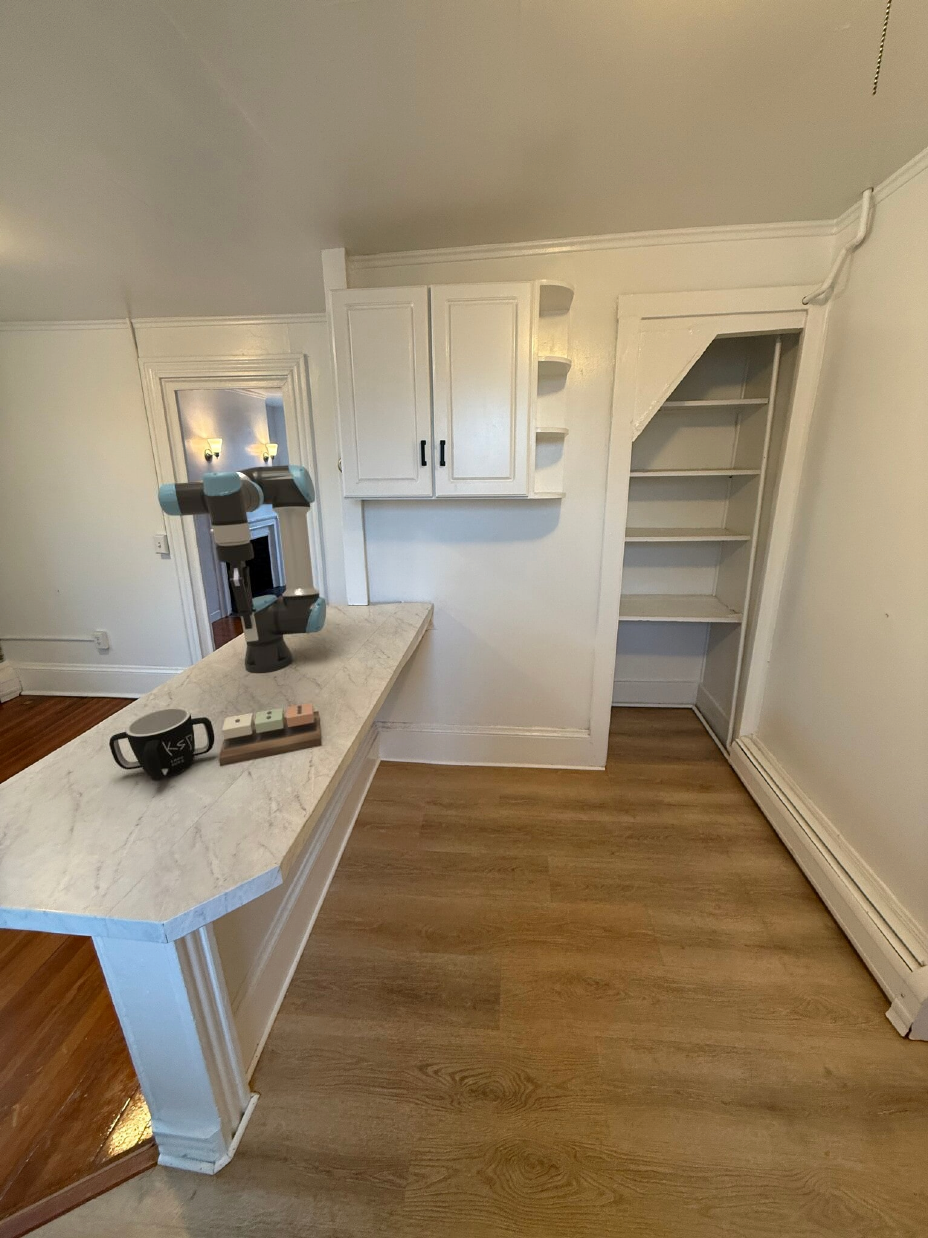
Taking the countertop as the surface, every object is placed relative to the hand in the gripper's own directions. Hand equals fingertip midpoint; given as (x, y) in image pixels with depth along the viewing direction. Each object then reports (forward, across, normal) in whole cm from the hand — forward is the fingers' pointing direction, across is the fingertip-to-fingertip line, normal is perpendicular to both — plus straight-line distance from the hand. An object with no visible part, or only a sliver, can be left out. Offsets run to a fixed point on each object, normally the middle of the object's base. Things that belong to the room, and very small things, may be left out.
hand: (252, 640), depth 115 cm
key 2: (+20, +7, +2) cm, 21 cm away
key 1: (+20, +7, -5) cm, 22 cm away
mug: (+24, +10, -20) cm, 33 cm away
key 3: (+20, +7, +9) cm, 23 cm away
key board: (+24, +7, +2) cm, 25 cm away
